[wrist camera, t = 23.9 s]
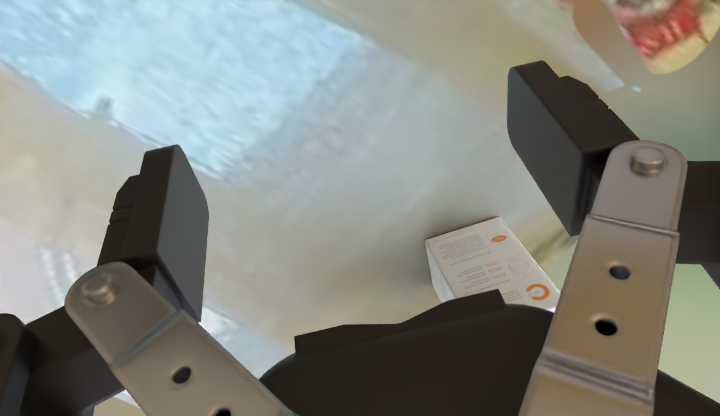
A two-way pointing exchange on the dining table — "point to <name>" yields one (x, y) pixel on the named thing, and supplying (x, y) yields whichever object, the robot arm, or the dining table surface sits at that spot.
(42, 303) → the dining table surface
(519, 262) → the small box
